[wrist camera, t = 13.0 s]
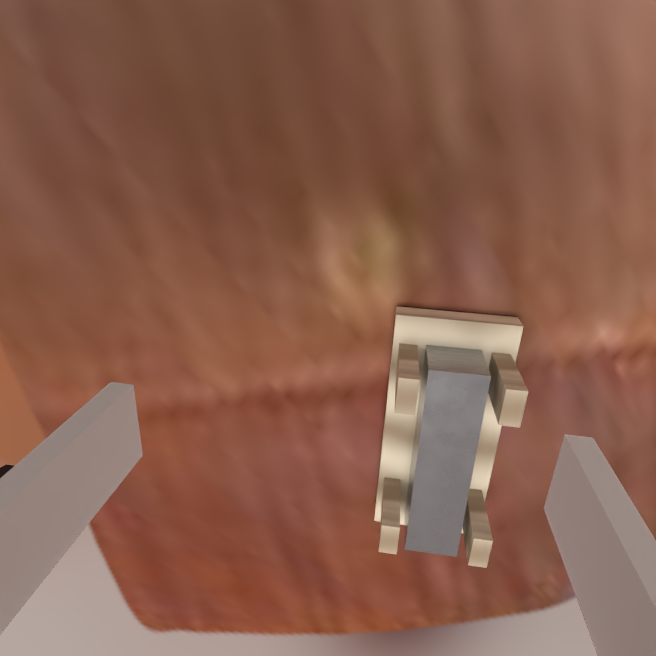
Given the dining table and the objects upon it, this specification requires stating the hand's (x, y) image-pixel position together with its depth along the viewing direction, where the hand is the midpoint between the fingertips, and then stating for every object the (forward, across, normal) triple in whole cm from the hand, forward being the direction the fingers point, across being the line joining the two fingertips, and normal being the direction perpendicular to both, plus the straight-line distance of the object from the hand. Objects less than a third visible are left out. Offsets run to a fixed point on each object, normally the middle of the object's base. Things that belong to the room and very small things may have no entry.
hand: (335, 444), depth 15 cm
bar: (+25, +7, -16) cm, 30 cm away
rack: (+27, +7, -16) cm, 32 cm away
